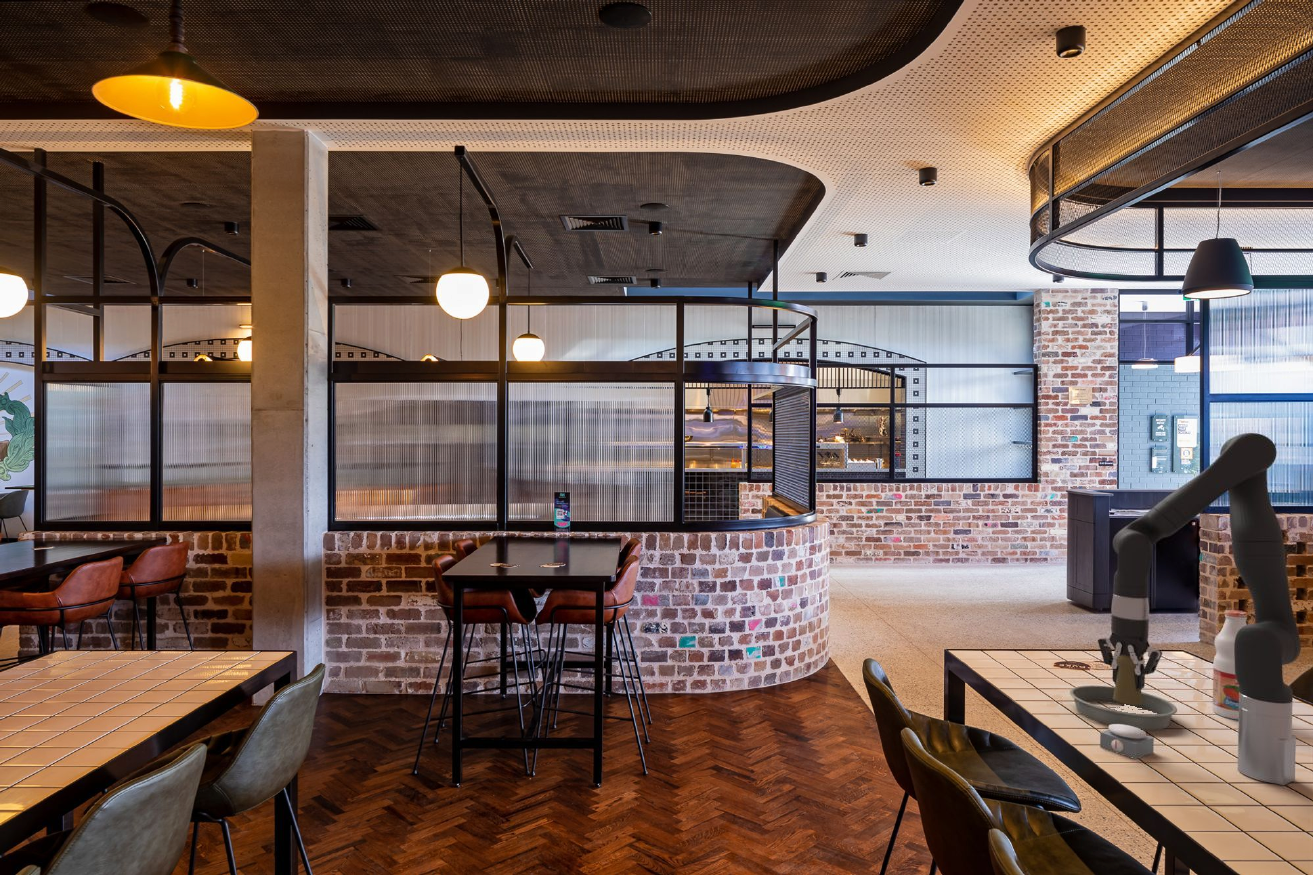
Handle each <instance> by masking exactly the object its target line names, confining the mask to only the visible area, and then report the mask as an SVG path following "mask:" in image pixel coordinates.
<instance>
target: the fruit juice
mask: <svg viewBox="0 0 1313 875" xmlns="http://www.w3.org/2000/svg"><path fill="white" fill-rule="evenodd" d="M1224 616H1225V620H1224V623H1223V626H1222V628H1221V629H1220V632H1218V634H1217V635H1216V636H1215V637H1214V642H1213V643H1214V647H1215V652H1216V654H1215V655H1214V657H1213V666H1212V668H1213V670H1212V671H1213V673H1212V711H1213V712H1214V714H1216V715H1218V716H1221V717H1224V718H1226V719H1230V720H1236V721H1239V684H1238V682H1237V679H1236V676H1235V659H1234V643H1235V637H1236V634H1237V632H1238V631H1239V630H1240V629H1241V628H1242V627H1244V626H1246V625H1248V624H1247V622H1246V621H1247V619H1248V613H1247V612H1246V611H1243V610H1235V609H1234V610H1233V609H1225V610H1224Z"/></svg>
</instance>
